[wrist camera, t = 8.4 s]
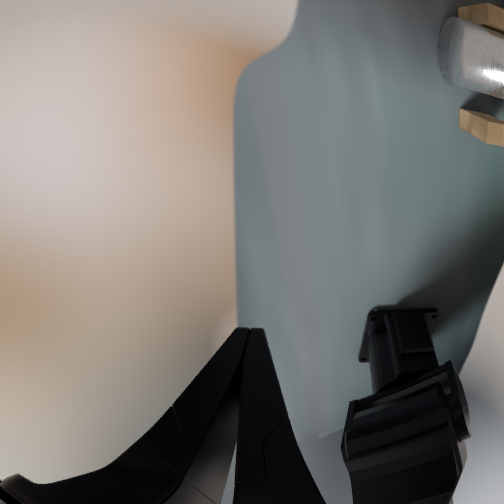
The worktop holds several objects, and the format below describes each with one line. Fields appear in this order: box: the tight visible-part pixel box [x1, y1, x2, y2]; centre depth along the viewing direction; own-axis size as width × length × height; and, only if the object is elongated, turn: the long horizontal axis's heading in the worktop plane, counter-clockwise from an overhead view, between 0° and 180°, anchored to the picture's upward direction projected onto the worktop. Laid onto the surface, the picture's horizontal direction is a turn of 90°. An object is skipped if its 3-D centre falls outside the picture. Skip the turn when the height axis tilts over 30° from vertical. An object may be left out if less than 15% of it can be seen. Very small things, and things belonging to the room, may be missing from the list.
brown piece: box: [458, 3, 504, 146], centre depth 11 cm, size 8×2×4 cm, turn 6°
